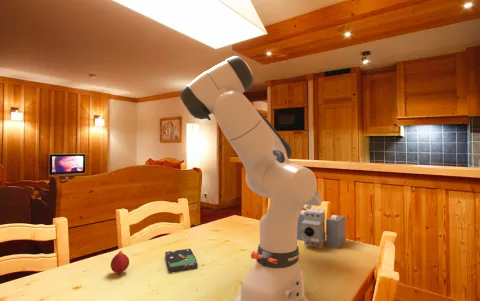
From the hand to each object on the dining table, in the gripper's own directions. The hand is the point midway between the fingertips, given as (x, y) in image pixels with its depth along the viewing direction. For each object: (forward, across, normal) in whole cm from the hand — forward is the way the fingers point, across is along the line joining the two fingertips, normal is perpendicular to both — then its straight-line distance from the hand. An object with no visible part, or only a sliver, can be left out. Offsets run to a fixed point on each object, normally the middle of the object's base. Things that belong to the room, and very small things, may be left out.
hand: (301, 206), depth 107 cm
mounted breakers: (+27, 0, 0) cm, 27 cm away
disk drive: (-12, +32, +40) cm, 53 cm away
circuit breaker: (+22, 0, +6) cm, 23 cm away
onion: (-26, +41, +53) cm, 72 cm away
